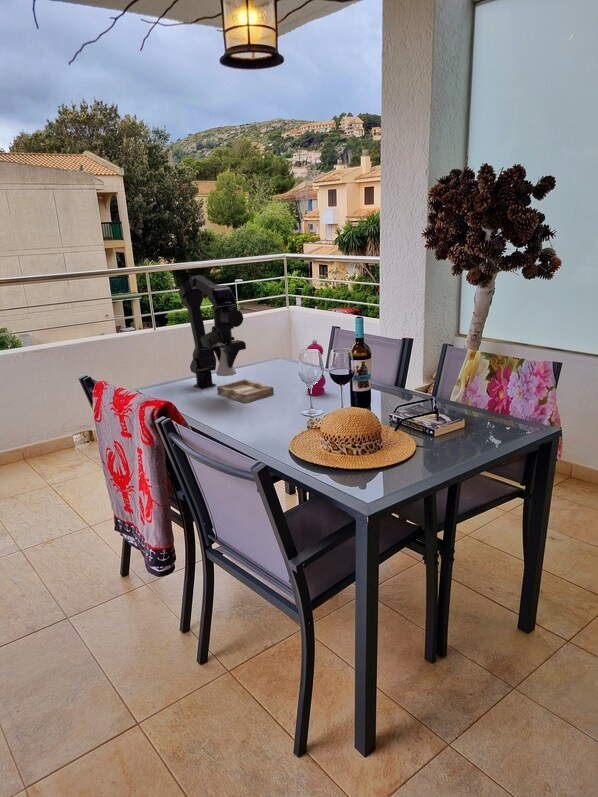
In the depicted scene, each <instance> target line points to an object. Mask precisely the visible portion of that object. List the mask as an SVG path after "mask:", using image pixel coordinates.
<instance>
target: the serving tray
mask: <svg viewBox="0 0 598 797" xmlns="http://www.w3.org/2000/svg"><path fill="white" fill-rule="evenodd" d="M216 390H217V395H220V394H221V396H223V395H224V396H223V397H226V396H227V397H226V398H229V397H230V399H232V398H233V399H232V400H235V399H236V400H235V401H238V400H239V402H241V401H242V403H244V402H245V404H248V403H252V402H254V401H258V400H261V399H264V398H268V397H271V396H274V395H275V393H274V387H273V386H270V385H266V384H263V383H260V382H259V383H258V382H255V381H253V380H248V379H247V378H246V379H241V380H237V381H234V382H230V383H226V384H222V385H219V386H217V387H216ZM247 402H248V403H247Z"/></svg>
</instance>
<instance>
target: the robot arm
mask: <svg viewBox="0 0 598 797" xmlns="http://www.w3.org/2000/svg"><path fill="white" fill-rule="evenodd" d="M203 295H206V296H207V298H208V301H209V302H210V303H211V304H212V306H211V307H210V308H211V310H212V311H213V323H214V325H213V326H211V331H210V332H207V333H206V330H205V324H204V320H203V319H204V318H203V314H202V308H201V306H202V303H203V300H204V297H203ZM178 296H179V298H180V299H181V303H182V305H183V306H185V308H186V309H187V313H188V317H189V322H190V327H191V333H192V336H193V342H194V343H193V344H194V350H193V351H192V360H191V362H190V365H189V369H190V372H191V373H193V374H195V378H196V379H195V380H196V383H195V384H193V387H195V388H197V389H198V388H199V389H201V390H204V389H207V388H211V387H215V386H217V385H216V384H215V383H214V382H213V375H212V371H216V369H217V368H216V367H217V361H218V363H219V362H220V358H221V349H220V347H221V346H225V347H226V350H223V352H225V353H226V356H227V362H228V367H229V368H232V366H233V367H234V363H235V361H236V359H237V356H238V354H239V352H240V351H241V350H242V351H243V350H246V349H247V346H246V345H247V343H246V342H245V341H244V340H239V339H237V340H235V337H234V336H233V335H232V333H233V332H232V330H233V329H234V328H238V327H240V326H241V325H242V324H243V322H244V315H243V313H242V311H240V310H238V303H237V302H238V301H237V299H236V297H235V296H234V293H233V291H232V289H231V287H229V285H222V284H221V285H220V284H216V283H214V282H213V281H211V280H210V279H207V278H206V277H205V276H204V275H201V274H200V275H191V276H189V279H188V280H186V281H185V282H183V283H182V284H181V286H180V288H179V289H178Z"/></svg>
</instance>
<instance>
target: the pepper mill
mask: <svg viewBox="0 0 598 797" xmlns="http://www.w3.org/2000/svg"><path fill="white" fill-rule="evenodd" d="M311 343H312V344H309V345H308V346H307V347H306V350H307V349H318V350H319V351H320V353H321V355H322V356H323V354H324V348H323V346H322V345H320V344H318V340H316V339H313V340H312V342H311ZM305 385H306V386H307V389H306V391H307V395H309V394H310V389H309V386H308V385H307V384H306V383H305ZM325 385H326V377H325V375H324V374H323V375H322V378H321V379H320V380H319V381H318V383H316V384H315V385H313V388H312V395H311V396H313V395H315V396H317V395H318V396H322V394H323V395H325V387H324V386H325ZM315 396H314V397H315ZM318 396H317V397H318Z"/></svg>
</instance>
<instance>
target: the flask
mask: <svg viewBox="0 0 598 797" xmlns="http://www.w3.org/2000/svg"><path fill="white" fill-rule="evenodd" d="M220 349H221V358H220V362H219V361H218V366H217V368H216V369H217V371H216V376H218V377H230V376H234V375H236V374H237V372H236V369H235V366H234V365H233V366H232V368H229V367H228V362H227V356H226V353H225V352H223V350H226V347H225V346H221V347H220Z"/></svg>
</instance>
